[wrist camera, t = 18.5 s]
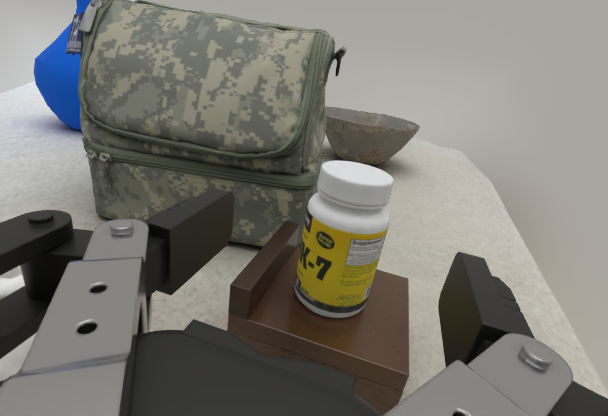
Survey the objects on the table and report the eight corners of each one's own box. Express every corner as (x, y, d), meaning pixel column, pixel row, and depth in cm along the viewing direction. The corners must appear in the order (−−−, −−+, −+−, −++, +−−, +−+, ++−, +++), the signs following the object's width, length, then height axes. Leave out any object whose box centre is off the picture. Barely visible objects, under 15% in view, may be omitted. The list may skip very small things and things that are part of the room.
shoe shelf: (391, 329, 26) (416, 255, 23) (384, 438, 18) (421, 346, 15) (275, 292, 28) (285, 220, 26) (223, 376, 20) (230, 284, 17)
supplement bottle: (281, 277, 22) (299, 156, 19) (341, 268, 24) (366, 158, 21) (314, 329, 18) (344, 188, 15) (381, 312, 20) (420, 186, 17)
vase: (58, 115, 72) (34, -50, 60) (149, 122, 79) (144, -25, 67) (27, 134, 57) (-13, -81, 45) (144, 141, 64) (136, -45, 52)
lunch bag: (56, 218, 34) (13, -36, 25) (154, 170, 50) (148, 7, 42) (304, 269, 32) (349, 15, 23) (320, 202, 49) (350, 38, 40)
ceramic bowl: (374, 149, 89) (383, 112, 85) (428, 179, 69) (443, 132, 65) (297, 144, 81) (302, 102, 77) (333, 175, 62) (344, 122, 58)
